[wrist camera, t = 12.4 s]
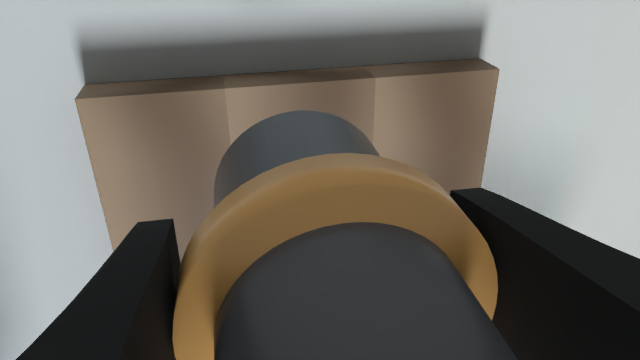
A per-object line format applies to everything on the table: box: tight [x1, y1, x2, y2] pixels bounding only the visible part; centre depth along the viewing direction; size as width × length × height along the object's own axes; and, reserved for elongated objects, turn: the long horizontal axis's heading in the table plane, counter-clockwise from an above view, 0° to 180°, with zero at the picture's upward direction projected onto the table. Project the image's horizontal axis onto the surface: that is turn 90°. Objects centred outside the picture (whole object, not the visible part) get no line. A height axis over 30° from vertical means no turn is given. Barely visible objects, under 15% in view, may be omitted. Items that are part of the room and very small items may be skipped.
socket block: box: [75, 58, 499, 263], centre depth 18 cm, size 14×14×8 cm
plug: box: [172, 110, 518, 360], centre depth 9 cm, size 5×5×7 cm
